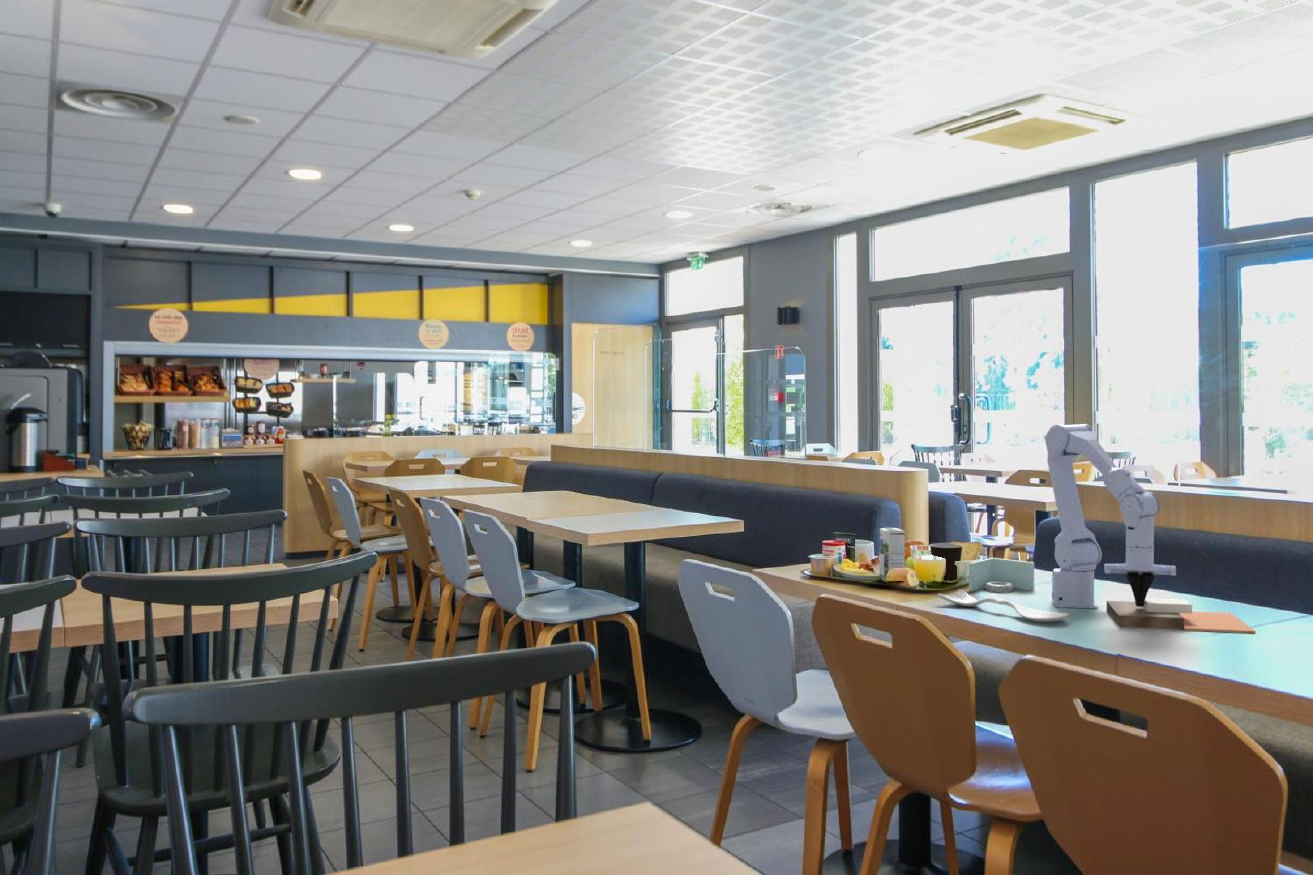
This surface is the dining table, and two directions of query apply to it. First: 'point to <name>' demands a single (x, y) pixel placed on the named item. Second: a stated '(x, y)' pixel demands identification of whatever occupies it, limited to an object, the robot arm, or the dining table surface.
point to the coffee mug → (948, 557)
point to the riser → (1142, 616)
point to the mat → (1214, 622)
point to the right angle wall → (1001, 575)
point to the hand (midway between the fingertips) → (1139, 605)
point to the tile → (1167, 605)
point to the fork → (1025, 612)
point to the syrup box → (891, 550)
